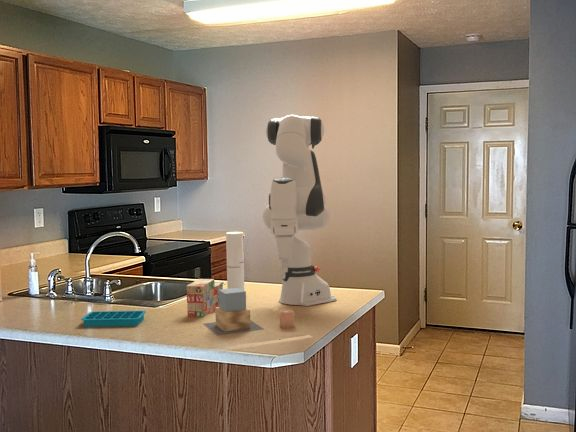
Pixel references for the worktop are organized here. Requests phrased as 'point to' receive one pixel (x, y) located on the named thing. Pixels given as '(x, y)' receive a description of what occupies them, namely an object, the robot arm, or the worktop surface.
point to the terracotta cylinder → (286, 318)
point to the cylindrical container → (235, 260)
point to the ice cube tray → (113, 318)
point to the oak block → (232, 319)
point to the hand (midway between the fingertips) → (284, 269)
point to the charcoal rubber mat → (219, 331)
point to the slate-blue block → (232, 299)
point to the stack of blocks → (203, 297)
